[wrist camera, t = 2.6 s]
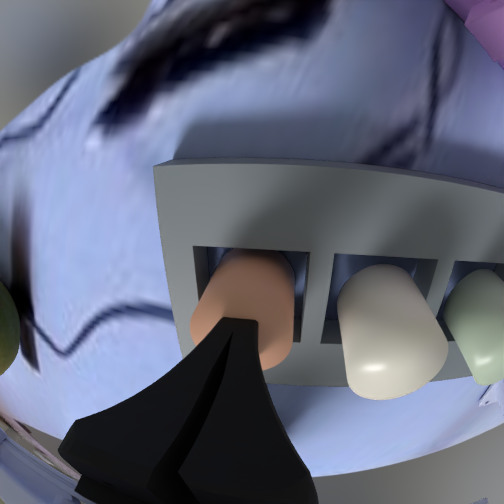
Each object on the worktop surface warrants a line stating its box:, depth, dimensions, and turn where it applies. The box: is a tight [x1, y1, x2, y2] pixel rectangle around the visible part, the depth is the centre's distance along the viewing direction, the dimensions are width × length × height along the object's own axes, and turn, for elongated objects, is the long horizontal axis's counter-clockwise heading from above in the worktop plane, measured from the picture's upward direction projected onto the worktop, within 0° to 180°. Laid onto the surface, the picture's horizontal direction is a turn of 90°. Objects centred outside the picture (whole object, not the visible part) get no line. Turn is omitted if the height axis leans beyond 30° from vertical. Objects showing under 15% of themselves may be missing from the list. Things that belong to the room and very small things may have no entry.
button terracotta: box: [190, 248, 295, 371], centre depth 13 cm, size 4×4×4 cm
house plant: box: [5, 427, 20, 444], centre depth 51 cm, size 14×14×16 cm
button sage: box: [444, 269, 504, 385], centre depth 10 cm, size 4×4×4 cm
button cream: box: [337, 264, 448, 400], centre depth 11 cm, size 4×4×4 cm
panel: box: [153, 158, 504, 387], centre depth 13 cm, size 20×12×2 cm, turn 91°
